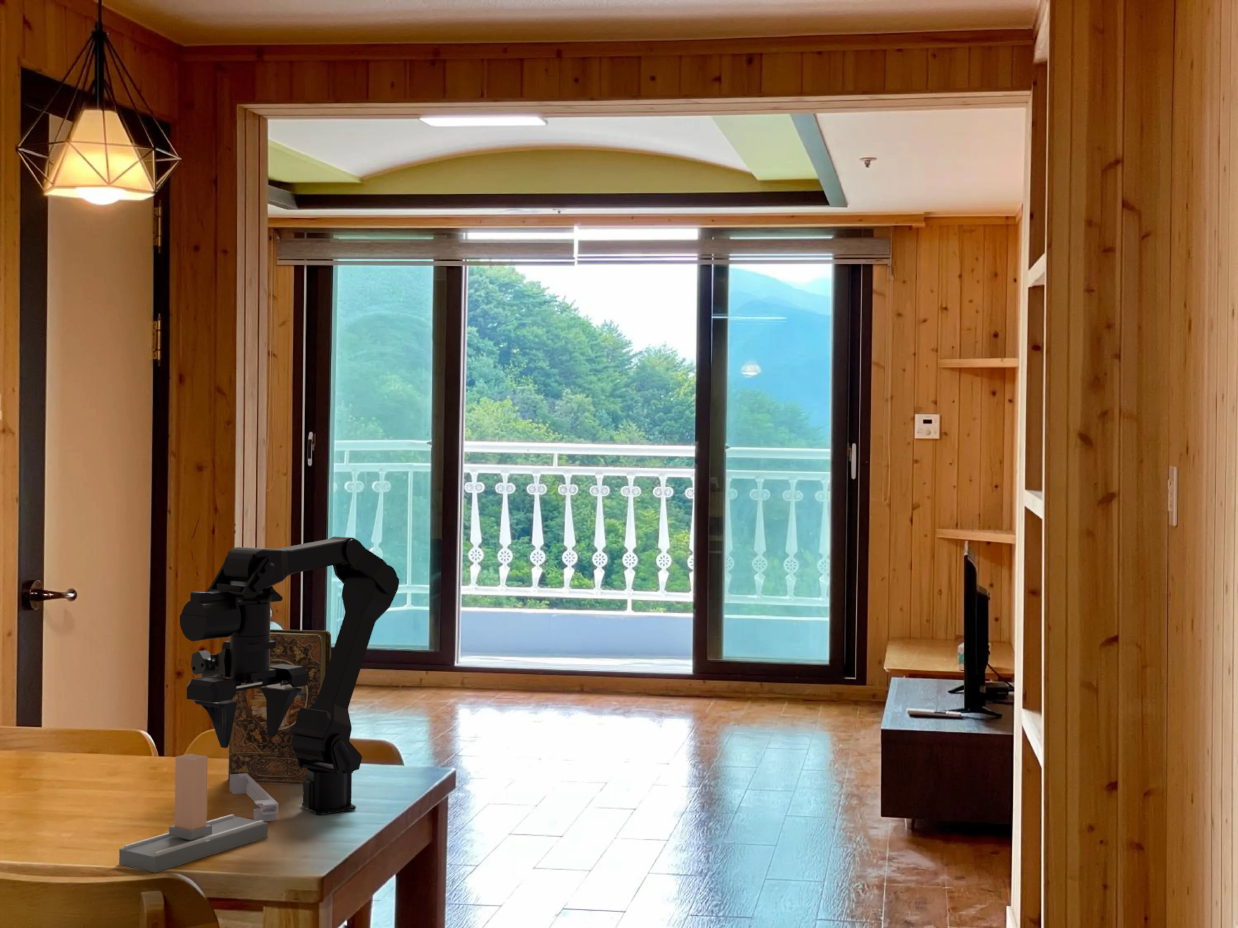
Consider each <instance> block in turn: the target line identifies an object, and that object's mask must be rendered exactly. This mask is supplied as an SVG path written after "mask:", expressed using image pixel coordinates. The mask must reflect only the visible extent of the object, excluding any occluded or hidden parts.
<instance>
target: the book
mask: <svg viewBox="0 0 1238 928" xmlns="http://www.w3.org/2000/svg"><path fill="white" fill-rule="evenodd" d="M270 641H276V648H273V649H270V666H272V665H278V664H287V665H295V666H303V667H304V668H305V670H306V671H307V673H308V685H306V686H301V687H296V688H301V689H302V691H301V692H299V693H298V694H297V695H296V697H295V699H294V701H293V702H292V704H291V706H290V707H289V709H288V711H287V713H286V715H285V717H284V719H283V721H282V723H281V725H280V727H279V729H278V731H277V733H276V735H275V737H269V736H268V733H267V714H266V698H265V696H264V694H263V693H262V691H261V689H260V687H257V688H252V689H246V690H241V691H236V695H235V696H234V698H233V699H232V700H231V701H237V707H236V712H235V717H234V722H233V728H232V733H231V738H230V742H229V745H228V768H227V770H228V774H227V776H228V777H227V778H228V783H230V775H232V774H243V773H247V774H248V775H249V776H250V777H251V778H252V779H253V780H254V781H255V782H256V783H257V784H270V785H272V784H274V785H293V786H294V785H295V786H296V785H297V786H298V785H299V786H300V785H302V786H303V780H304V779H306V769H308V768H301V767H299V764H298V760H297V757H296V754H295V752H294V749H293V747H292V745H291V743H292V736H293V733H291V730H292V729H293V727H294V725H295V723H296V719H297V714H298V711H299V710H300V708H301V707H303V708H310V707H311V706H312V705H313V704H314V703H315V702H316V700H317V698H318V695H319V692H320V689H321V686H322V683H323V680H324V677H325V674H326V671H327V668H328V665H329V662H330V658H331V655H332V634H331V632H330V631H329V630H307V629H305V630H304V629H302V630H301V629H273V628H272V629H271V628H270ZM253 682H255V681H253ZM241 684H245V683H241ZM263 687H264V686H263Z"/></svg>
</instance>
